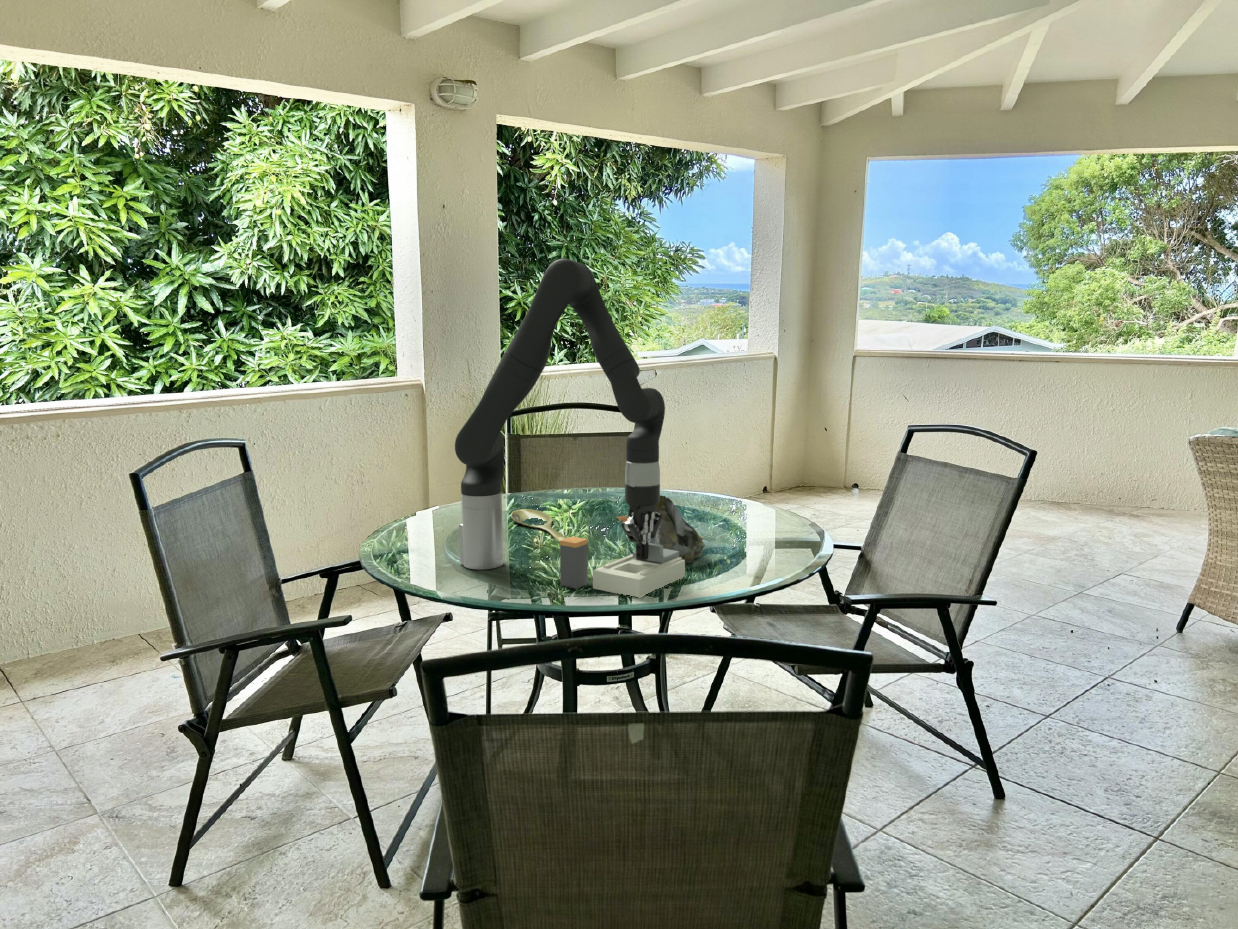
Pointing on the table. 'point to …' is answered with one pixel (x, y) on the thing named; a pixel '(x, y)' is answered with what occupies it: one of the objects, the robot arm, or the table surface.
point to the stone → (676, 532)
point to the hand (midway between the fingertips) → (642, 559)
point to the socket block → (637, 575)
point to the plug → (574, 562)
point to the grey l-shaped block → (659, 553)
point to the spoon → (529, 513)
